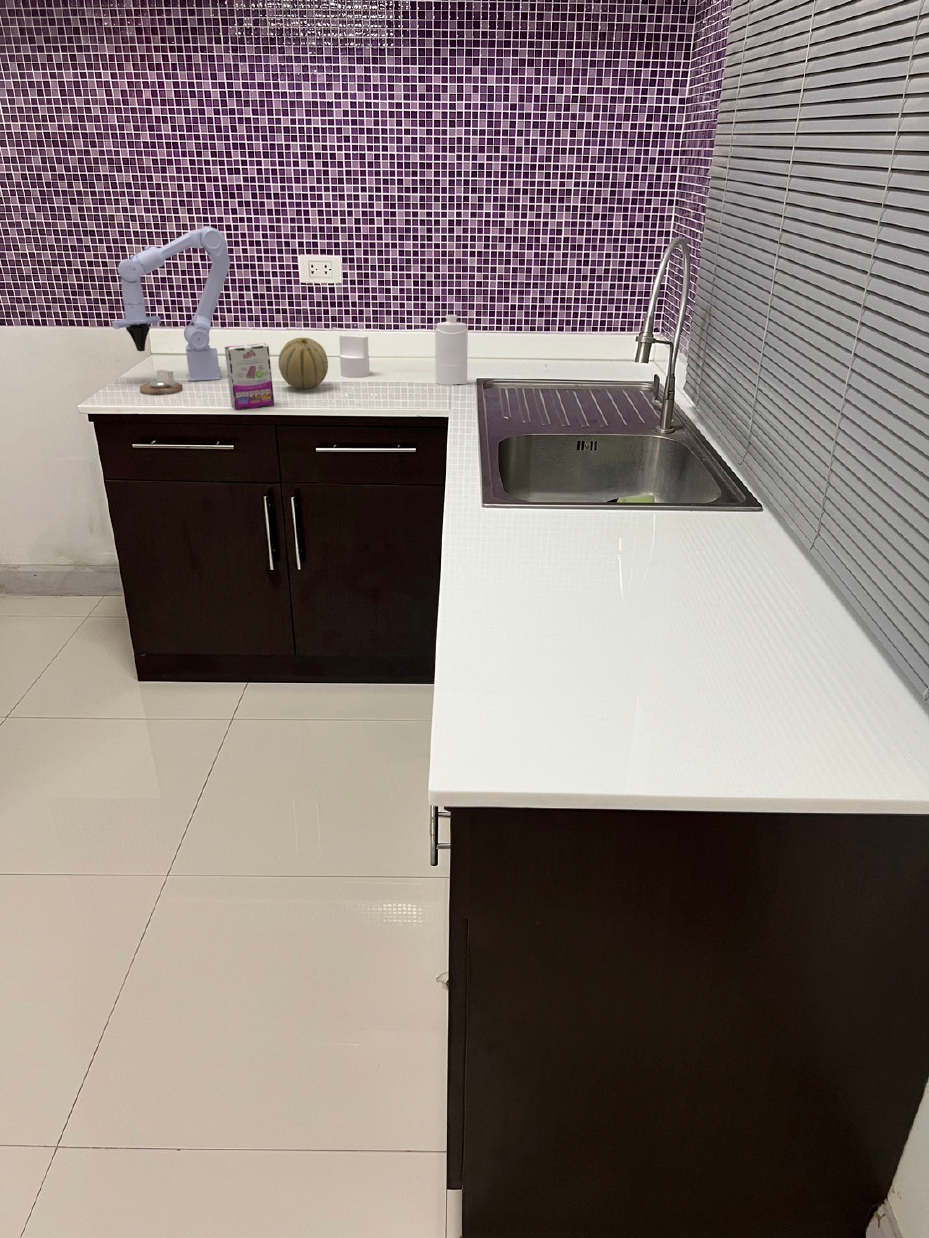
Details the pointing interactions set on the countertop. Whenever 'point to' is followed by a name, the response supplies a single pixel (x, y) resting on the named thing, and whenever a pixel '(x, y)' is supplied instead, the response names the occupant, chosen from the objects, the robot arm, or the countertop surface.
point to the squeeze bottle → (451, 352)
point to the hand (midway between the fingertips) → (141, 350)
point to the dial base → (161, 389)
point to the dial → (163, 379)
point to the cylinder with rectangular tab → (354, 356)
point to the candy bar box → (249, 376)
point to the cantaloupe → (303, 363)
